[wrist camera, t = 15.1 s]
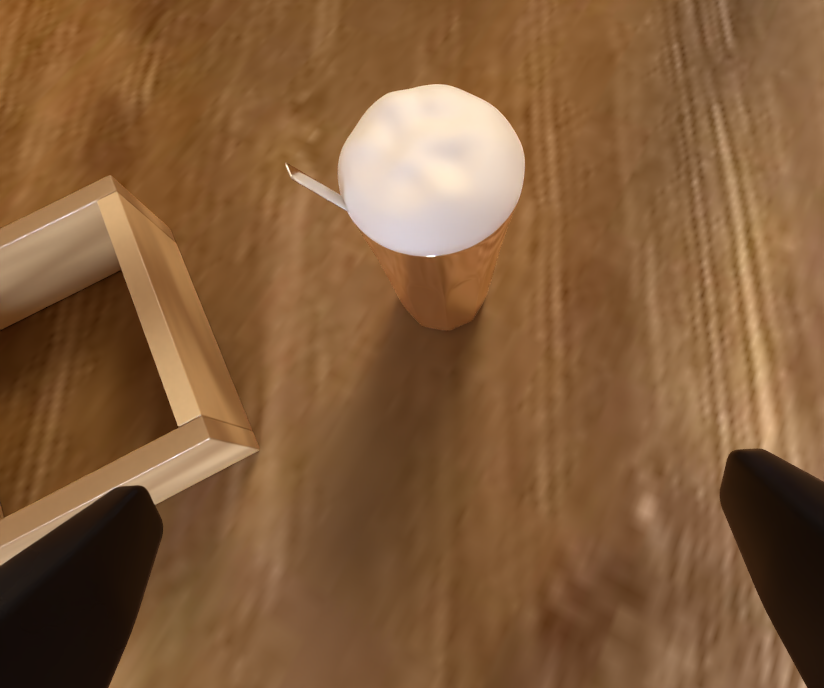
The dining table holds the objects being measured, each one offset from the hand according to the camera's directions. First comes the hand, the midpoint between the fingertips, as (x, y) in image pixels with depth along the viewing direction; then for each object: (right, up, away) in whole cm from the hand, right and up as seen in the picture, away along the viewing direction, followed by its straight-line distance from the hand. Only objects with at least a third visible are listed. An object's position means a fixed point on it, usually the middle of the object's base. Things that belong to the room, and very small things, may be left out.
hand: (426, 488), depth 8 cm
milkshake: (+1, +4, +12) cm, 13 cm away
